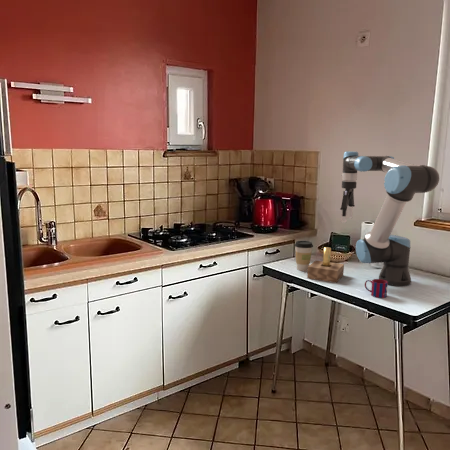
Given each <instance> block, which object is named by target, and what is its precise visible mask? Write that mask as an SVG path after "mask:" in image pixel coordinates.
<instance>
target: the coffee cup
mask: <svg viewBox="0 0 450 450" xmlns="http://www.w3.org/2000/svg"><path fill="white" fill-rule="evenodd" d="M313 247H314V245H313V242H312V241H309V240H297V241H295V243H294V248H295V261H296V262H295V263H296V270H297V271H300V272H306V271H307V272H308V266H309V265H311V258H312V251H313Z"/></svg>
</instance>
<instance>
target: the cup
mask: <svg viewBox="0 0 450 450" xmlns="http://www.w3.org/2000/svg"><path fill="white" fill-rule="evenodd" d="M367 282H368V283H369V282H370V283H371V289H370V288H368V287H367ZM388 286H389V285H388V282H387V281H386V280H382V279H379V278H376V279H375V278H374V279H372V280H370V279H367V280H366V281H365V282H364V287H365V290H366V291H368V292H369V293H371V294H370V295H371V297H374V298H377V299H385V298H387V295H388V294H387V293H388Z"/></svg>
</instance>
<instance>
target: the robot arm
mask: <svg viewBox="0 0 450 450" xmlns="http://www.w3.org/2000/svg"><path fill="white" fill-rule="evenodd" d="M358 172H360V173H362V172H364V173H365V172H383V173H386V174H385V176H384V179H383V181H384V182H383V185H384V189H385V193H386V197H385V199H384V201H383V204H382V205H381V208H380V211H379V212H378V215H377V217H376V219H375V220H374V224H373V226H372V228H371V231H368V232H366V233H365V236H364V238H363V239H358V240H357V241H356V243H355V254H356V256H357V258H358V260H359V261H360V263H362V264H379V263H383V265H382V268H381V270H380V273H379V274H378V279H382V280H386V281H387V282H388V286H395V287H407V286H409V285H411V283H412V278H411V273H410V270H409V264H410V252H411V239H409V238H407V237H404V236H401V235H397V234H396V235H394V234H392V233H393V230H394V228H395V226H396V224H397V223H398V219H400V216H401V214H402V212H403V210H404V208H405V206H406V204H407V203H408V202H411V201H412V200H413V198H414V196H415V194H423V193H424V194H425V193H430V192H431V191H433V190H434V189H436V188H437V187H438V185H439V183H440V173H439V172H438V170H437V169H436V168H434V167H433V166H429V165H425V164H420V165H417V164H414V163H413V164H412V163H409V162H405V161H402V160H398V159H396V158H395V157H394V156H391V155H379V156H377V155H359V152H358V151H349V150H348V151H344V153H343V157H342V173H341V177H342V179H341V180H342V181H341V188H342V189H345V190H343V191H342V192H343V193H342V194H343V195H342V200H341V206H340V208H339V210H341V217H340V218H341V219H340V222H341V223H347V221H348V219H351V220H352V219H353V215H354V211H353V210H354V207H355V197H354V196H355V194H354V189H357V183H358V182H357V180H358Z"/></svg>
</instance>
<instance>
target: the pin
mask: <svg viewBox="0 0 450 450" xmlns="http://www.w3.org/2000/svg"><path fill="white" fill-rule="evenodd" d="M331 254H332V248H331V247H328V246H324V247H323V256H322V261H323V266H325V267H330V262H331Z"/></svg>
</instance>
